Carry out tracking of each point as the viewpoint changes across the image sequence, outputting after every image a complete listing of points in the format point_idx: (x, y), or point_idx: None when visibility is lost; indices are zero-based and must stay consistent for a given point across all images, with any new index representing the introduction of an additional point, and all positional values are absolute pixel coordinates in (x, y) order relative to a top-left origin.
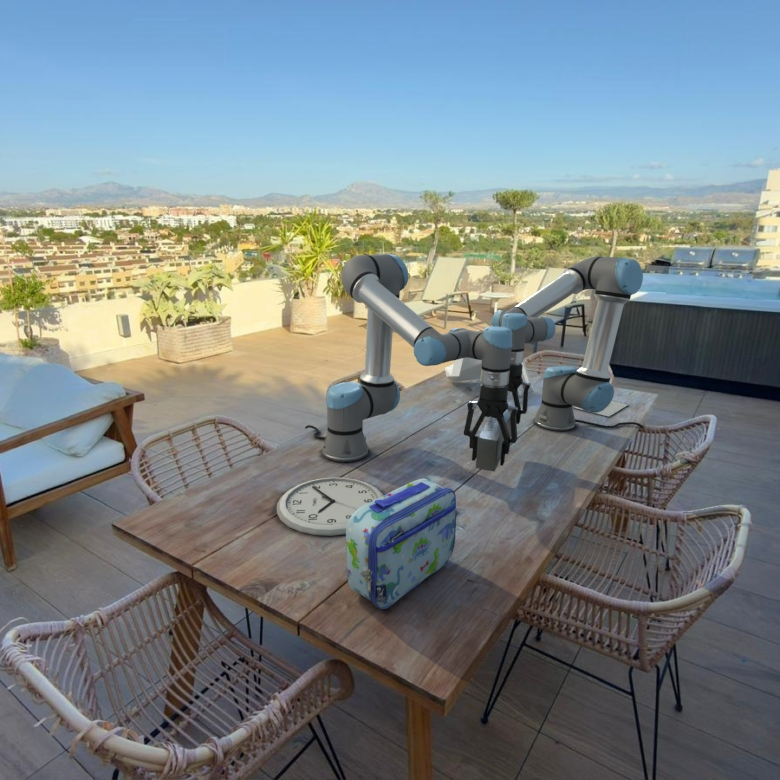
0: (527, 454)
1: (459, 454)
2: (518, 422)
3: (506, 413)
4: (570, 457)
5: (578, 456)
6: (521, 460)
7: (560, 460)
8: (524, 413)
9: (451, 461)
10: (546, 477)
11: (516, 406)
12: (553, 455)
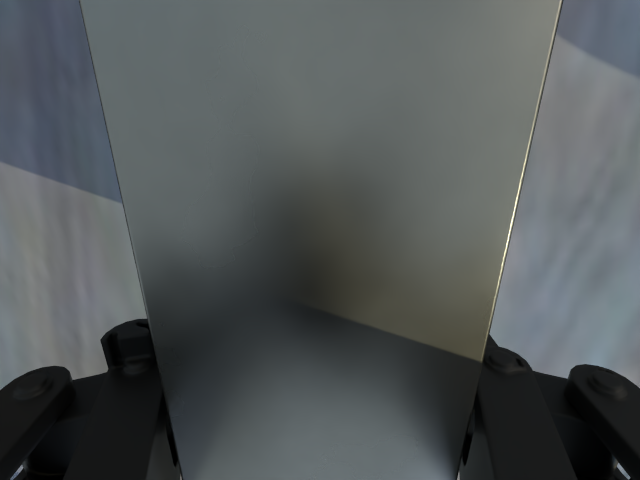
0: None
1: (536, 144)
2: None
3: (218, 17)
4: (46, 316)
5: (22, 337)
6: None
7: (70, 271)
8: (40, 368)
9: (581, 26)
10: (53, 41)
11: (117, 460)
12: (114, 309)
